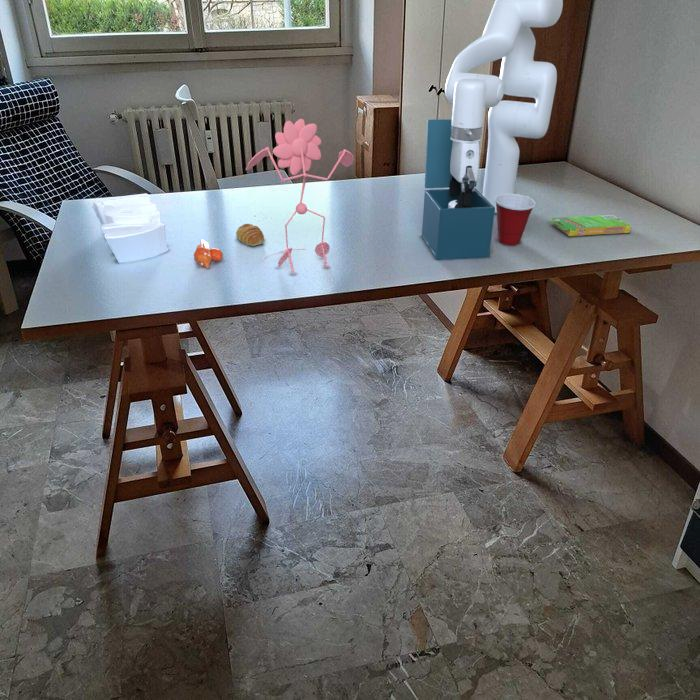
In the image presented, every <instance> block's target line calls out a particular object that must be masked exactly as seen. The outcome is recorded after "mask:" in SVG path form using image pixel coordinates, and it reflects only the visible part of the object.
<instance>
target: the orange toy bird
mask: <svg viewBox="0 0 700 700" xmlns="http://www.w3.org/2000/svg"><path fill="white" fill-rule="evenodd" d="M223 257H224V255H223V252H222V250H221V249H220V248H219V249H218V248H217V247H216V248H215V247H212V248H210V245H209V242H207V241H206V240H205V239H200V244H198V245H197V246H196V247H195V251H194V252H193V259H194V261H195V262H196V263H197V264H199V267H201V268H206V269H209V268H210V264H211V263H212V262H215V263H217V262H221V261H222V259H223Z"/></svg>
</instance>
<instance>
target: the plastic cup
mask: <svg viewBox="0 0 700 700" xmlns="http://www.w3.org/2000/svg"><path fill="white" fill-rule="evenodd" d="M527 196H528V195H523V194H521V195H519V193H515V194H510V193H508V194H500V195H497V196H496V197H495V203H496V209H497V213H496V227H497V228H496V229H497V240H498V243H500V244H502V245H504V246H509V247H510V246H512V247H513V246H517V245H519V244H520V243H521V241H522V237H523V234H524V232H525V230H526V226H527V224H528V221H529V217H530V215H531V213H532V211H533V209H534V208H535V207H536V205H537V204H536V201H535V200H534V199H532V197H529V196H528V197H527Z"/></svg>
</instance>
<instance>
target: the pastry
mask: <svg viewBox="0 0 700 700" xmlns="http://www.w3.org/2000/svg"><path fill="white" fill-rule="evenodd" d="M235 235H236V238H237V240H238V241H239V242H240V243H242V244H243V245H246V246H251V247H256V246H258V245H262V244H264V242H265V235H264V234H263V231H262V230H261V228H260V227H259V226H257V225H254V224H253V223H244V224H242V225H240V226H239V227H238V228H237V230H236V232H235Z"/></svg>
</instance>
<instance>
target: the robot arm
mask: <svg viewBox="0 0 700 700" xmlns="http://www.w3.org/2000/svg"><path fill="white" fill-rule="evenodd" d="M563 7H564V0H495V1H494V3H493V6H492V8H491V11H490V13H489V16H488V19H487V21H486V24H485V27H484V30H483V32H482V35H481V36H480V37H479V38H477V39H476V40H474V41H472V42H471V43H469V45H467V46H466V47H465V48H463V50H461V51H460V52H459V53H458V54H457V56H456V57H455V59H454V61H453V63H452V65H451V68H450V70H449V73H448V75H447V78H446V82H445V88H444V96H445V98H446V100H447V101H448V102H449V103H450V104H452V113H451V119H452V124H451V136H450V139H451V140H452V141H453V144H452V151H451V160H450V173H451V175H450V185H449V188H448V189H449V195H450V196H460V199H459V207H460V208H471V207H472V198H473V192H474V188H475V187H474V182H476V183H477V182H478V181H479V169H480V142H481V141H482V136H483V135H482V134H483V127H484V125H483V124H484V114H485V109H489V110H488V113H487V129H488V133H487V135H488V136H487V137H488V139H487V151H486V160H485V170H484V178H483V187H482V195H483V196H484V197H485V198H486V199H487V200H488V201H489V202H490V203H491V204H492V205H493V206H494V207H495V212H494V214H497V209H496V203H495V197H496V196H497V195H500V194H508V193H510V194H516V192H515V189H516V183H517V175H518V168H519V160H520V155H521V154H520V153H521V152H520V147H519V144H518V142H517V140H516V137H518V138H525V139H536V140H537V139H541V138H543V137H545V135H546V134H547V132H548V130H549V126H550V121H551V115H552V109H553V104H554V99H555V94H556V88H557V83H558V81H557V80H558V72H557V68H556V66H555V65H554V64H553V63H552V62H548V61H536V60H534V56H535V50H536V45H537V44H536V43H537V41H536V37H535V35H534V32H533V31H532V28H543V29H544V28H549V27H552V26H555V24H557V22H558V21H559V19H560V17H561V15H562V13H563ZM500 59H502V60H501V64H500V72H499V76H497V75H493V74H482V73H472V70H474V69H476V68H478V67H480V66H482V65H486V64H489V63H492V62H496V61H498V60H500ZM504 95H507V96H511V97H522V98H532V99H534V100H535V102H525V101H517V100H502V99H503V98H504ZM463 179H468V180H463ZM464 184H466V186H464ZM461 190H462V192H461ZM518 194H519V193H518ZM519 195H522V194H521V193H520V194H519ZM526 196H527V197H529V195H526Z"/></svg>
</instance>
